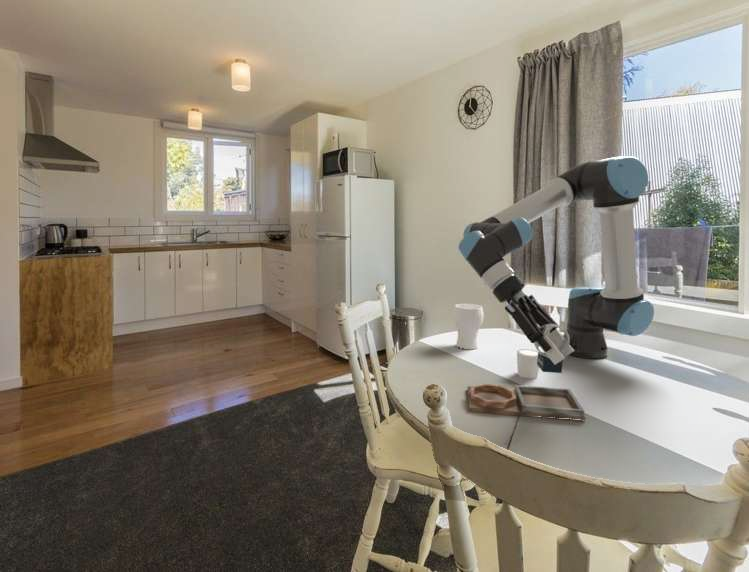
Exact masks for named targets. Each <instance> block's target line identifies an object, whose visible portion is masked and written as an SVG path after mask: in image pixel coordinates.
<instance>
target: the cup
mask: <svg viewBox="0 0 749 572" xmlns="http://www.w3.org/2000/svg"><path fill="white" fill-rule="evenodd" d="M452 313H453V315H452V316H453V322H454V325H455V327H456V330H457V331H456V332H457V337H456V343H455V346H456V347H457V348H458V347H460V348H459V349H462V348H464V349H463V350H476V349H478V347H479V345H478V333H479V330H480V328H481V327H482V326H483V325H482V324H483V323H484V310H483V306H482V305H480V304H475V303H459V304H458V303H457V304H455V305H454V309H453V312H452Z"/></svg>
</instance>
